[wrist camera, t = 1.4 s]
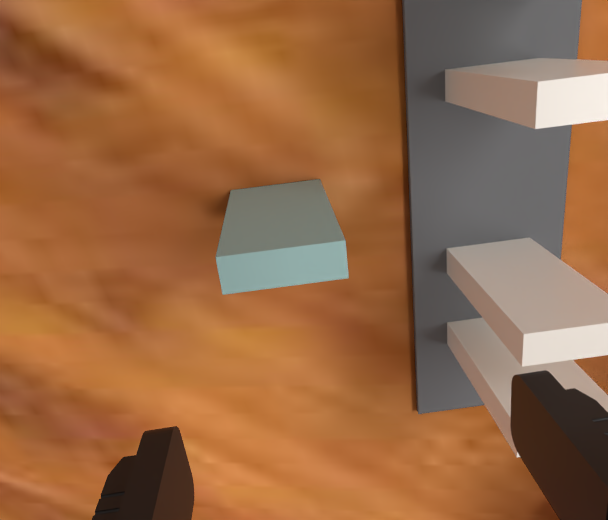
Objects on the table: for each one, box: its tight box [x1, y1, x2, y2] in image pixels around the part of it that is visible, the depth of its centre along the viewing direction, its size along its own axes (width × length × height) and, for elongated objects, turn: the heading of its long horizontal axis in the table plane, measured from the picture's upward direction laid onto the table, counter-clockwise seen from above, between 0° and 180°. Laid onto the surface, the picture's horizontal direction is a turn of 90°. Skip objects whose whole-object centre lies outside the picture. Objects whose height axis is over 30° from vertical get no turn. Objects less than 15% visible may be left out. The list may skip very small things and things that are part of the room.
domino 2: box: [445, 58, 608, 129], centre depth 23 cm, size 2×5×10 cm, turn 97°
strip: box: [402, 0, 582, 414], centre depth 30 cm, size 30×9×1 cm, turn 6°
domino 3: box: [447, 238, 608, 367], centre depth 27 cm, size 2×5×10 cm, turn 97°
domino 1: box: [216, 179, 349, 295], centre depth 25 cm, size 2×5×10 cm, turn 97°
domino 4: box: [447, 318, 608, 457], centre depth 29 cm, size 2×5×10 cm, turn 97°
